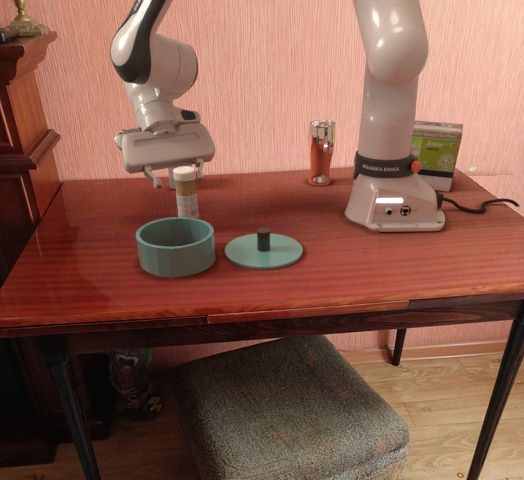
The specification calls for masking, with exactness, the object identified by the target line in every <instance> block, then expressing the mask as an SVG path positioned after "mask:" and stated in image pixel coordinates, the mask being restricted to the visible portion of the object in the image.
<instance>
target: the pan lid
mask: <svg viewBox="0 0 524 480" xmlns="http://www.w3.org/2000/svg"><path fill="white" fill-rule="evenodd" d="M303 253H304V249H303V246H302V244H301V243H300V242H299V241H298V240H296V239H294V238H292V237H290V236H287V235H284V234H278V233H271V229H270V228H268V227H259V228H257V229H256V233H250V234H245V235H241V236H238V237H236V238H234V239H232V240H231V241H229V242H228V243H227V244H226V245H225V248H224V255H225V258H226V259H227V260H228V261H229V262H230V263H232V264H234V265H236V266H238V267H241V268H244V269H250V270H261V271H262V270H263V271H264V270H265V271H266V270H276V269H282V268H286V267H289V266H291V265H293V264H295V263H297V262H298V261H299V260H300V259H301V258H302V257H303Z"/></svg>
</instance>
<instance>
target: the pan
mask: <svg viewBox="0 0 524 480" xmlns="http://www.w3.org/2000/svg"><path fill="white" fill-rule="evenodd" d="M135 242H136V248H137V254H138V261H139V265H140V267H141V268H142V270H143V271H145V272H147V273H149V274H150V275H153V276H158V277H163V278H164V277H165V278H181V277H188V276H193V275H197V274H199V273H202V272H205V271H206V270H208V269H209V268H211V267H212V266H213V265H214V264H215V262H216V260H217V259H216V258H217V257H216V243H215V230H214V227H213V226H212V224H211V223H210V222H208V221H205V220H204V219H201V218H199V219H196V218H189V217H178V216H173V217H171V216H170V217H165V218H159V219H156V220H152V221H149V222H147V223H145V224H143V225H142V226H140V227H139V228H138V229H137V231H136V232H135Z"/></svg>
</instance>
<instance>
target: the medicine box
mask: <svg viewBox="0 0 524 480" xmlns="http://www.w3.org/2000/svg"><path fill="white" fill-rule="evenodd" d="M185 166H189V167H193V164H191V165H185ZM178 167H183V166H178ZM175 168H177V167H172V168H167V172H168V184H169V189H170V190H176V185H175V179H174V175H173V170H174V169H175Z"/></svg>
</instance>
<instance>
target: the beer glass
mask: <svg viewBox="0 0 524 480" xmlns="http://www.w3.org/2000/svg"><path fill="white" fill-rule="evenodd" d="M336 124H337V123H336V122H335V121H333V120H329V119H315V120H312V121H309V128H308V136H307V147H308V148H307V151H308V158H309V175H308V179H307V183H308V184H309V185H312V186H318V187H323V186H328V185H330V184H331V182H332V180H331V165H332V160H333V156H334V152H335V147H336V136H337V134H336V131H337V130H336V126H337V125H336Z"/></svg>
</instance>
